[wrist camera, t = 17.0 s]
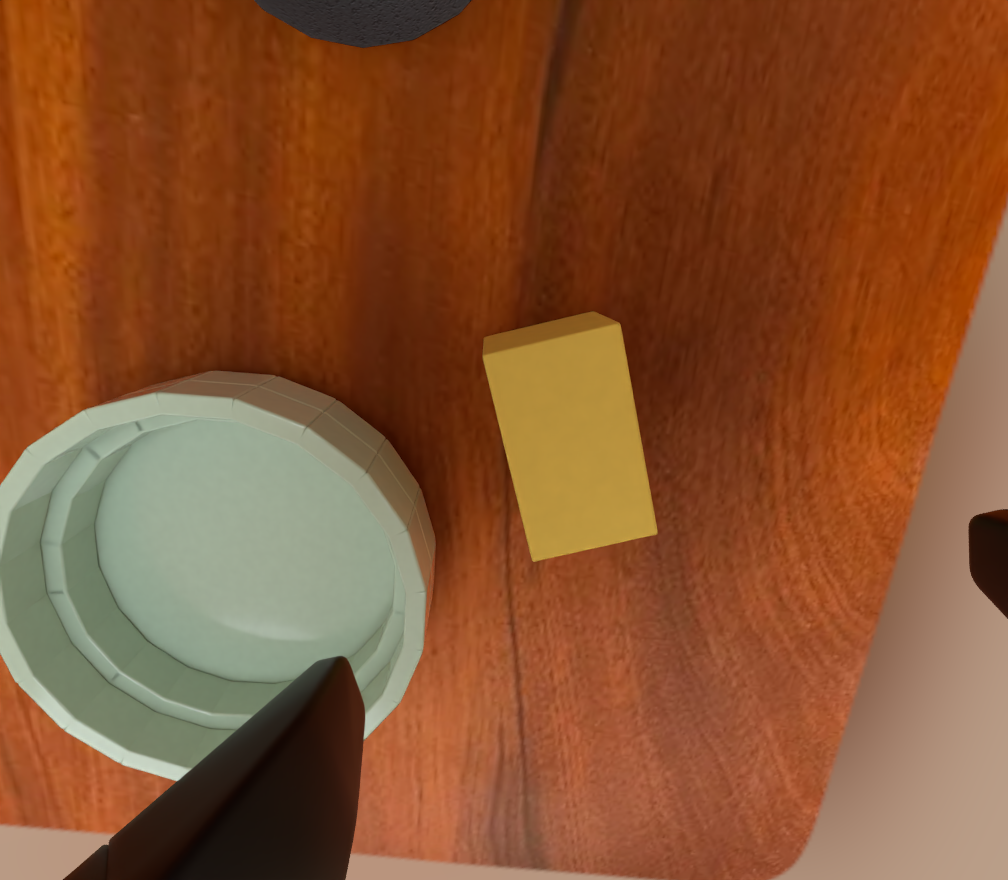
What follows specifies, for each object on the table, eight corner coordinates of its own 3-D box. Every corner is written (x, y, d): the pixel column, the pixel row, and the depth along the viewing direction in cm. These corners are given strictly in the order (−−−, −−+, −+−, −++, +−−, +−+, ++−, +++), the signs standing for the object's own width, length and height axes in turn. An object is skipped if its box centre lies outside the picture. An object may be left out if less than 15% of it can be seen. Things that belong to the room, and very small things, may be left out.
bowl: (474, 654, 23) (471, 739, 19) (158, 723, 23) (88, 820, 19) (380, 328, 19) (351, 344, 15) (13, 416, 20) (-107, 455, 16)
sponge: (627, 485, 21) (658, 534, 17) (524, 508, 21) (532, 562, 17) (594, 310, 19) (620, 322, 16) (482, 337, 20) (481, 355, 16)
